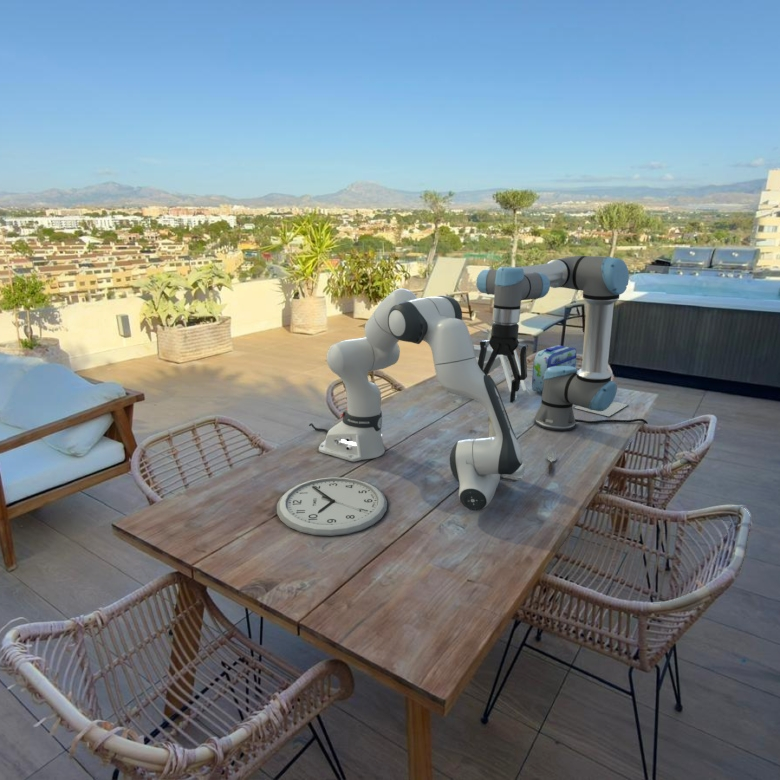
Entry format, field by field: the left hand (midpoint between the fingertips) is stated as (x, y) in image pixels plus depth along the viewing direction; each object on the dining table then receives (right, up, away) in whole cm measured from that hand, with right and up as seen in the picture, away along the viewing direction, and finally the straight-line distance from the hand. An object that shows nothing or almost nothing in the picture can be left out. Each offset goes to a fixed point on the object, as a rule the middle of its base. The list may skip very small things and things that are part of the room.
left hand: (493, 455), depth 160 cm
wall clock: (-47, -11, -17) cm, 52 cm away
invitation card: (+60, +13, +66) cm, 90 cm away
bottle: (0, -6, +3) cm, 7 cm away
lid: (+1, +13, -3) cm, 13 cm away
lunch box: (+45, +20, +88) cm, 101 cm away
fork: (+20, -4, +9) cm, 23 cm away
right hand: (+1, +17, -4) cm, 18 cm away
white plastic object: (+10, +19, +83) cm, 86 cm away
